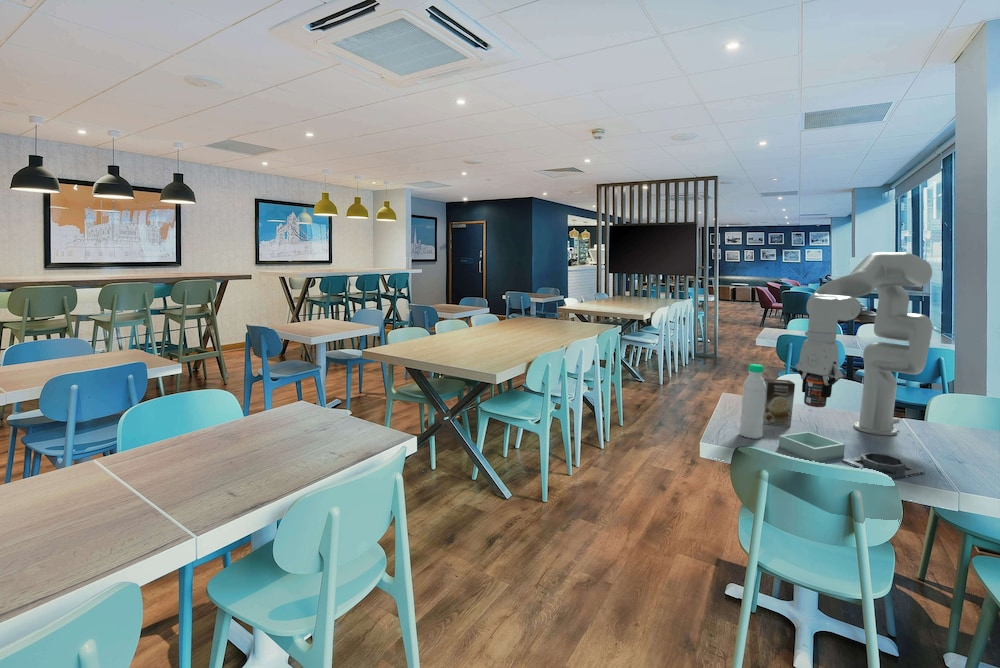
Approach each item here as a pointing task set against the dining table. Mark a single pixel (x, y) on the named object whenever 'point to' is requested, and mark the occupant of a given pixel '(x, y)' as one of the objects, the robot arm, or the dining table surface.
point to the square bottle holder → (892, 470)
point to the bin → (811, 446)
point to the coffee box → (778, 402)
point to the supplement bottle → (814, 391)
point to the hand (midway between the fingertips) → (816, 394)
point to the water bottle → (753, 403)
